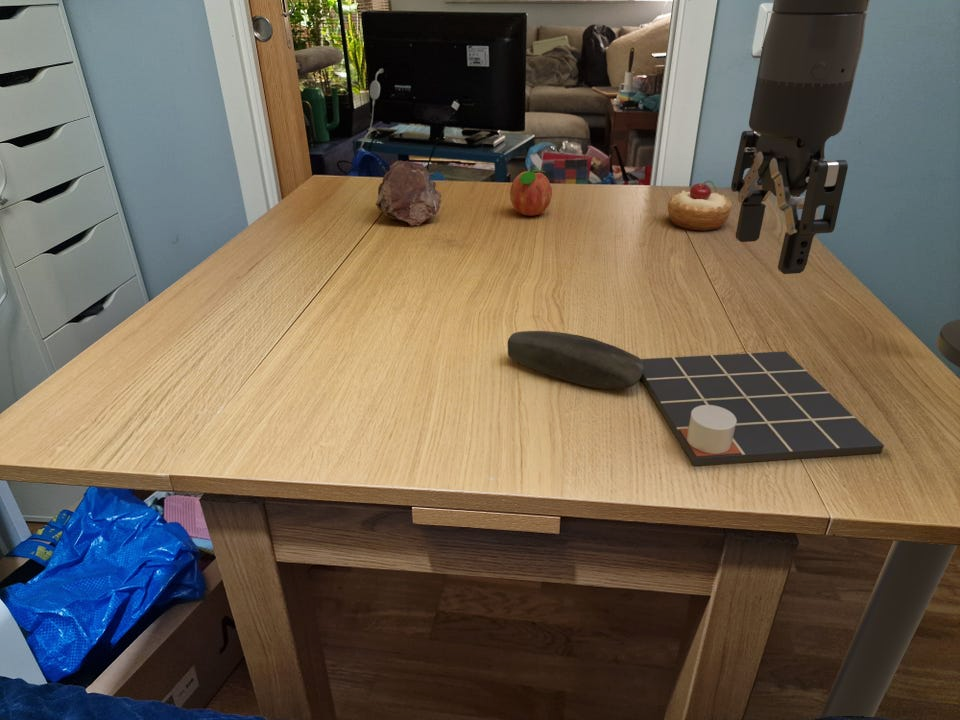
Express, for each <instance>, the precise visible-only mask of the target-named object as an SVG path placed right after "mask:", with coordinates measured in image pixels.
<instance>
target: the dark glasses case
mask: <svg viewBox="0 0 960 720" xmlns="http://www.w3.org/2000/svg"><path fill="white" fill-rule="evenodd" d="M507 355H508V357H509V358H510V359H512V360H513V361H515V362H516V363H519V364H521V365H524V366H525V367H528V368H530V369H533V370H535V371H538V372H541V373H542V374H546V375H548V376H551V377H554V378H557V379H560V380H563V381H566V382H569V383H573V384H577V385H580V386H584V387H588V388H589V387H590V388H593V389H603V390H619V389H627V388H631V387H632V386H634V385H635V384H637V383H638V382H639V381H640V380H641V376H642V374H643V370H644V363H645V362H644V361H643V360H642V359H643V358H640V356H637V355H635V354H633V353H631V352H629V351H627V350H624V349H622V348H620V347H618V346H615V345H612V344H609V343H607V342H603V341H600V340H599V339H595V338H592V337H588V336H584V335H578V334H572V333H566V332H561V331H560V332H558V331H551V330H550V331H548V330H523V331H516V332H514V333H512V334H511V335H510V336H509V338H508V339H507Z"/></svg>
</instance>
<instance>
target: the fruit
mask: <svg viewBox="0 0 960 720" xmlns="http://www.w3.org/2000/svg"><path fill="white" fill-rule="evenodd" d="M545 174H546V175H547V174H548V172H547V171H545V170H539V169H534V165H533V164H531V165H530V170H526V171H522V172H520V173H519V174H518V175H517V176H516V177H515V178H514V179H513V182H512V184H511V185H510V186H511V187H510V190H509V197H510V198H509V199H510V202H511V204H512V206H513V209H515V211H516V212H518V214H520V215H523V216H531V217H532V216H539V215H541V214H543V213H544V212H545V211H546V210H547V209H548V207H549V206H550V204H551V201H552V197H553V189H552V185H551V182H550V180H549V179H548V177H547V176H546V175H545Z"/></svg>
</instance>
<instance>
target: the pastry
mask: <svg viewBox="0 0 960 720" xmlns="http://www.w3.org/2000/svg"><path fill="white" fill-rule="evenodd" d="M706 183H710V184H712V188H713V190H714V192H712V188H711V187H710V186H709V185H708V184H706ZM732 208H733V203H732V201H731V199H730V198H729V197H728V196H725V195H724V194H722V193H721V194H719V193H718V192H717V189H716V184H715V182H714V181H713V180H706V181H704V182H703V183H701V182H699V183H695V184H692V186H690V189H689V190H688V191H686V190H684V189H683V190H681V192H676V193H674V194H672V195H671V196H670V197H669V198H668V202H667V213H668V216H669V218H670V220H671V222H672V223H673V224H674V225H675V226H677V227H679V228H683V229H686V230H692V231H702V232H703V231H712V230H717V229H720V228H721V227H722V226H723V225H724V224H725V223H726V222H727V220H728V219H729V217H730V215H731V212H732Z"/></svg>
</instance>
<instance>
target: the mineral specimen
mask: <svg viewBox="0 0 960 720" xmlns="http://www.w3.org/2000/svg"><path fill="white" fill-rule="evenodd" d="M436 184H437V183H436V182H435V181H433V180H432V179H431V178H430V172H429V171H428V168H426V167H425V164H423V163H419V162H414V161H411V162H410V161H409V160H405V161H404V160H397V161H396V163H395V164H391V165H390V167H389V170H388V171H386V172H385V174H384V175H383V178H382V182H381V183H380V184H379V185H378V190H377V195H378V196H377V200H376V201H375V204H374V205H375V206H376V207H377V209H378V210H379V211H380V212H381V213H382V214H384V215H385V216H386V217H387V218H389V219H393V220H399V221H403V222H406V223H407V224H408V225H410V226H413V227H414V226H417V227H420V226H421V225H422V223H423V222H425V221H426V220H427V219H430V218H433V217H435V216H436V214H437V213H439V211H440V208H441V206H440V204H441V203H442V200H441V198H442V193H441V192H440V191H438V190H437V189H436V187H437V185H436Z"/></svg>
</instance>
